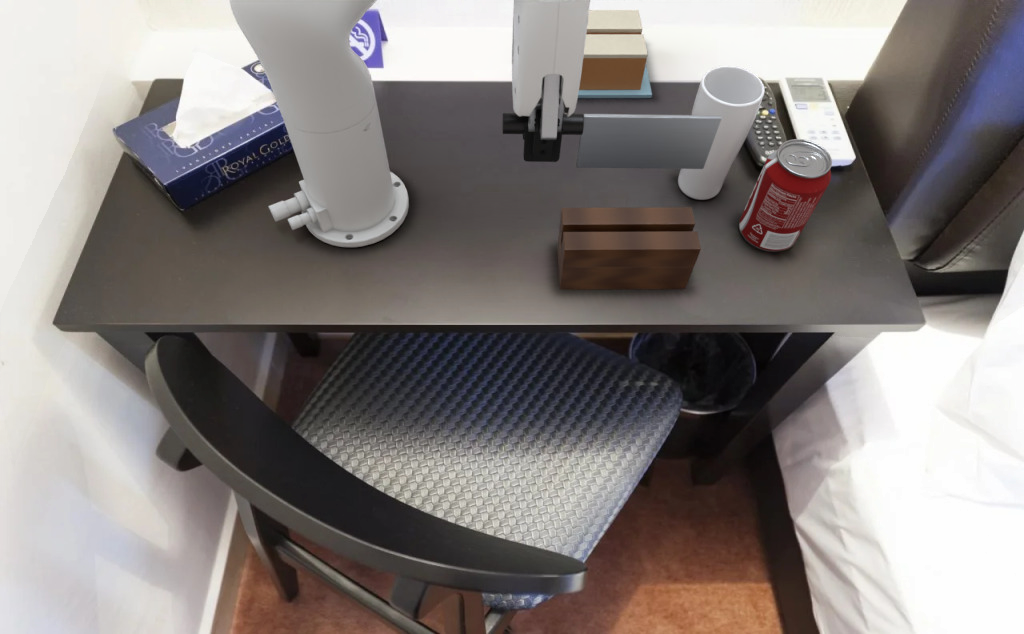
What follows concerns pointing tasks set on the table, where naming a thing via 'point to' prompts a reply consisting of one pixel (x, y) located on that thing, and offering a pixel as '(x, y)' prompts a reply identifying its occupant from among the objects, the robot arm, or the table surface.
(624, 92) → the boxes on blue tray
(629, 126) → the knife
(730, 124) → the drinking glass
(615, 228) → the block
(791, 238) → the soda can
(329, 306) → the table surface
